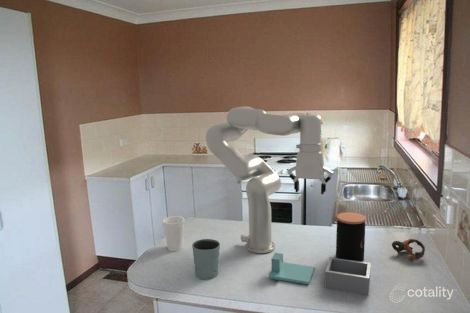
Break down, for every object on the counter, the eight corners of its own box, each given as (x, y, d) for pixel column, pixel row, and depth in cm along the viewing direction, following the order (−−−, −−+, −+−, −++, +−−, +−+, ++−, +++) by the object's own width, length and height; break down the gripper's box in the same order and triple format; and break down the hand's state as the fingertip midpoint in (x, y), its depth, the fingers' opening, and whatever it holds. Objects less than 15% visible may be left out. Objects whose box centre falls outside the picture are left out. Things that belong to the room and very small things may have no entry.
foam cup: (160, 250, 162) (158, 222, 160) (171, 242, 171) (169, 215, 168) (179, 254, 159) (177, 225, 156) (190, 245, 167) (188, 217, 165)
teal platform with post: (268, 281, 136) (268, 262, 134) (277, 267, 146) (276, 249, 145) (308, 288, 130) (309, 268, 129) (314, 273, 141) (314, 254, 139)
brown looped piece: (417, 252, 156) (426, 239, 151) (419, 271, 149) (428, 259, 144) (388, 243, 158) (395, 230, 153) (388, 261, 151) (396, 249, 146)
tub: (324, 290, 129) (325, 271, 127) (329, 275, 139) (329, 257, 137) (368, 297, 124) (369, 278, 122) (369, 281, 134) (370, 263, 132)
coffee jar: (365, 267, 144) (367, 222, 140) (336, 265, 146) (337, 221, 142) (362, 254, 154) (363, 212, 150) (335, 253, 156) (336, 211, 152)
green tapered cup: (188, 273, 143) (187, 243, 140) (211, 264, 149) (209, 236, 146) (203, 284, 135) (201, 252, 133) (226, 274, 141) (225, 244, 139)
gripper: (285, 149, 140) (285, 193, 144) (332, 151, 134) (331, 197, 138) (289, 145, 147) (289, 188, 151) (335, 147, 141) (334, 191, 144)
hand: (309, 192), depth 144 cm, fingers open, 9 cm apart
